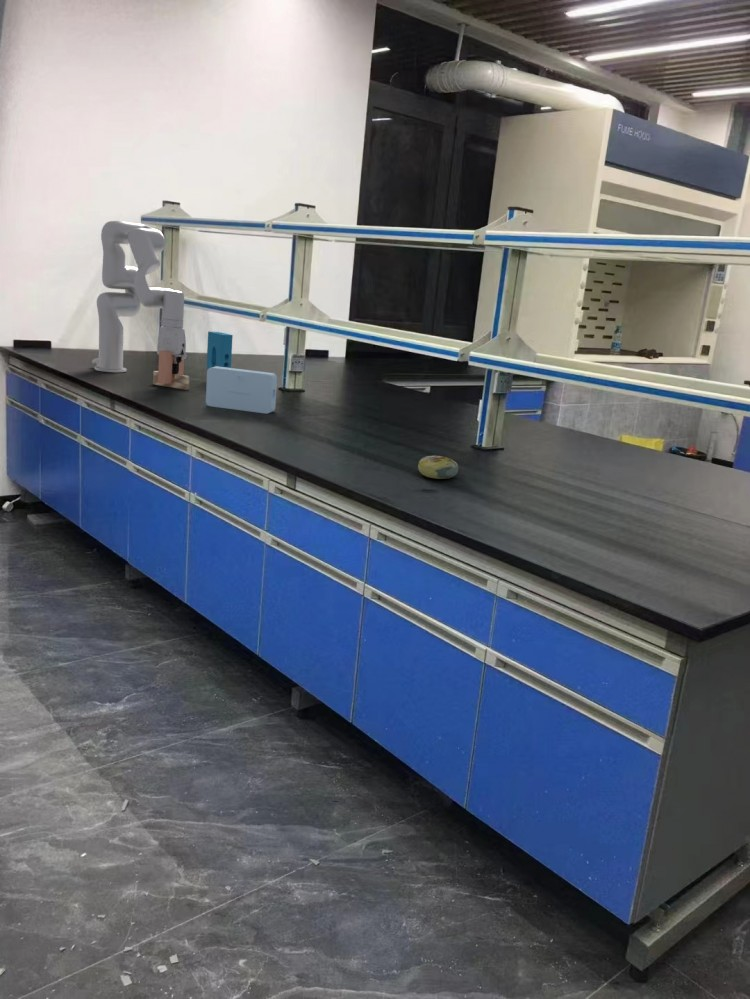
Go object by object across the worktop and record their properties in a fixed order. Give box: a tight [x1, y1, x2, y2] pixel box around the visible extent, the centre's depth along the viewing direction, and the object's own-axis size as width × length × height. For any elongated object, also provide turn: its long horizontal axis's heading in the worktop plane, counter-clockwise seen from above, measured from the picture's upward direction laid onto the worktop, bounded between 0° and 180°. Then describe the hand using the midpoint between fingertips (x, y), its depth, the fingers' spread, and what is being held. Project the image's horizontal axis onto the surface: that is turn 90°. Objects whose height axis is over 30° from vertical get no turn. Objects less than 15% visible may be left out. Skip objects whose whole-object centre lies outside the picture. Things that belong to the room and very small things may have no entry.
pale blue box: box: [205, 366, 278, 415], centre depth 290 cm, size 23×6×13 cm, turn 79°
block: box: [206, 330, 233, 371], centre depth 344 cm, size 12×5×20 cm, turn 41°
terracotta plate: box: [157, 351, 185, 384], centre depth 323 cm, size 3×12×12 cm, turn 158°
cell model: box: [417, 455, 459, 480], centre depth 222 cm, size 10×8×14 cm
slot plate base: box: [152, 370, 190, 391], centre depth 324 cm, size 15×2×5 cm, turn 68°
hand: (171, 372), depth 324 cm, fingers closed on terracotta plate, 3 cm apart
